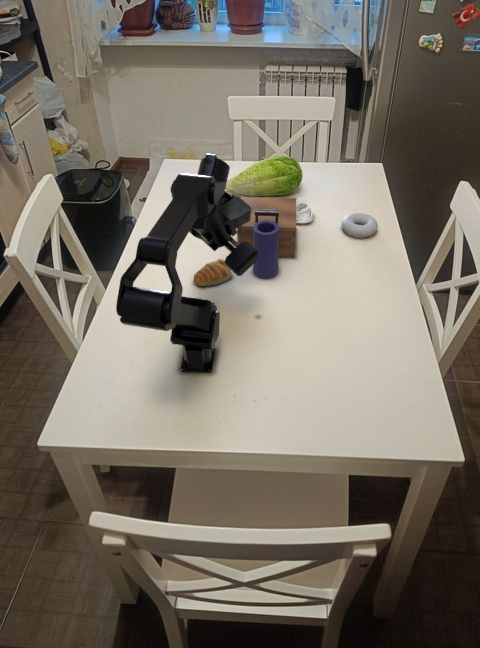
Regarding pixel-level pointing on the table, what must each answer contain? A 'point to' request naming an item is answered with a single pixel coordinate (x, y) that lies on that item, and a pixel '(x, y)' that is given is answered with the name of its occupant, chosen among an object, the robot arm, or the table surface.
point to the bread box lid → (272, 212)
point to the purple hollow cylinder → (266, 249)
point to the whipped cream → (303, 213)
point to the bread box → (285, 241)
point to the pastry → (213, 274)
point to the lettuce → (267, 178)
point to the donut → (359, 225)
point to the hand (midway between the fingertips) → (228, 255)
